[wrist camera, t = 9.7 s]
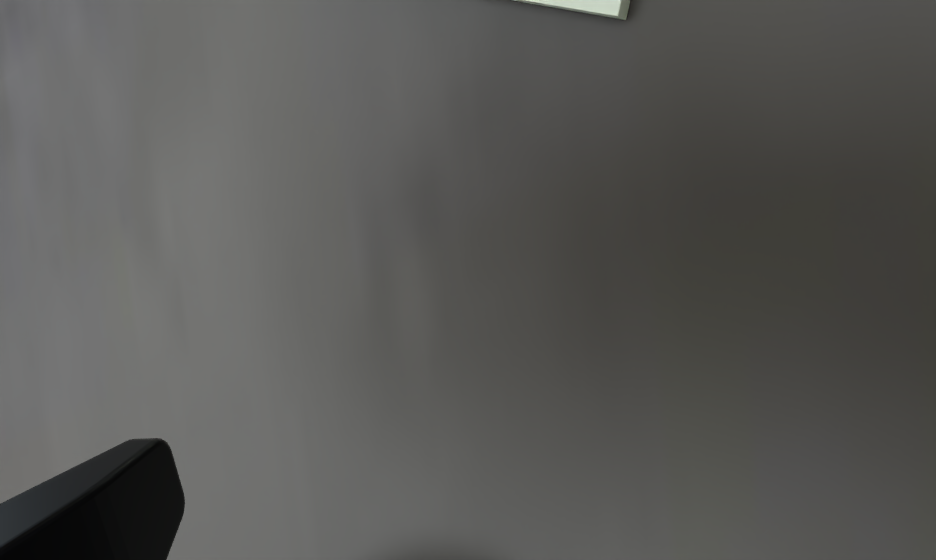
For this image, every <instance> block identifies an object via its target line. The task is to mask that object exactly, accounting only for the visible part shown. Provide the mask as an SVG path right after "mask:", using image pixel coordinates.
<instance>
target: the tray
mask: <svg viewBox="0 0 936 560" xmlns="http://www.w3.org/2000/svg"><path fill="white" fill-rule="evenodd" d="M511 1H517V2H523V3H529V4H535V5H541V6H546V7H552V8H558V9H564V10H570V11H576V12H581V13H587V14H593V15H599V16H605V17H611V18H617V19H622V20H626V18H627V14H628V9H629V5H630V0H511Z"/></svg>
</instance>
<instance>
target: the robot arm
mask: <svg viewBox="0 0 936 560" xmlns="http://www.w3.org/2000/svg"><path fill="white" fill-rule="evenodd" d="M184 507H185V499H184V493H183V489H182V486H181V482H180V479H179V475H178V472H177V468H176V465H175V461H174V458H173V454H172V451H171V449H170V446H169V445H168V443H167V442H166V441H164V440H162V439H159V438H151V439H132V440H128V441H126V442H124V443H122V444H120V445H118V446H116V447H114V448H112V449H110V450H108V451H106V452H104V453H102V454H100V455H98V456H96V457H94V458H92V459H90V460H87V461H85V462H83V463H81V464H79V465H77V466H75V467H73V468H71V469H69V470H67V471H65V472H63V473H61V474H59V475H57V476H55V477H53V478H51V479H49V480H47V481H45V482H43V483H41V484H39V485H37V486H35V487H33V488H31V489H29V490H27V491H25V492H23V493H21V494H19V495H17V496H15V497H13V498H11V499H9V500H7V501H5V502H3V503H1V504H0V560H166V559H167V556H168V554H169V551H170V549H171V546H172V543H173V541H174V538H175V535H176V533H177V530H178V528H179V525H180V522H181V520H182V517H183V513H184Z"/></svg>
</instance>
